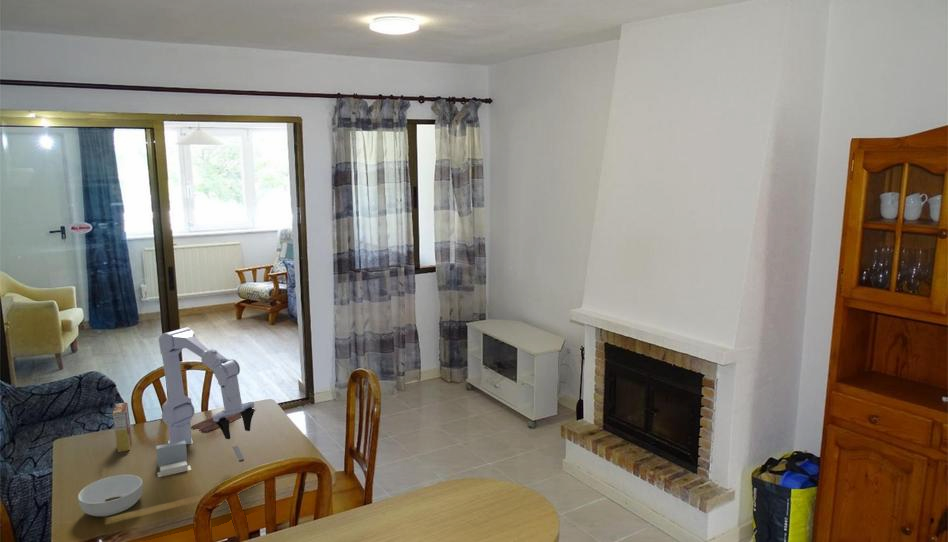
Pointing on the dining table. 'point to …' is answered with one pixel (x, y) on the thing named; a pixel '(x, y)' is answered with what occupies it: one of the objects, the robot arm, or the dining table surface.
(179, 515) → the dining table surface
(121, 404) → the candy box
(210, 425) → the wooden tablet
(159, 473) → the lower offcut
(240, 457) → the grey mat
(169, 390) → the robot arm
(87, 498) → the cereal bowl
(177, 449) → the pale grey rectangular block
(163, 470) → the upper offcut
